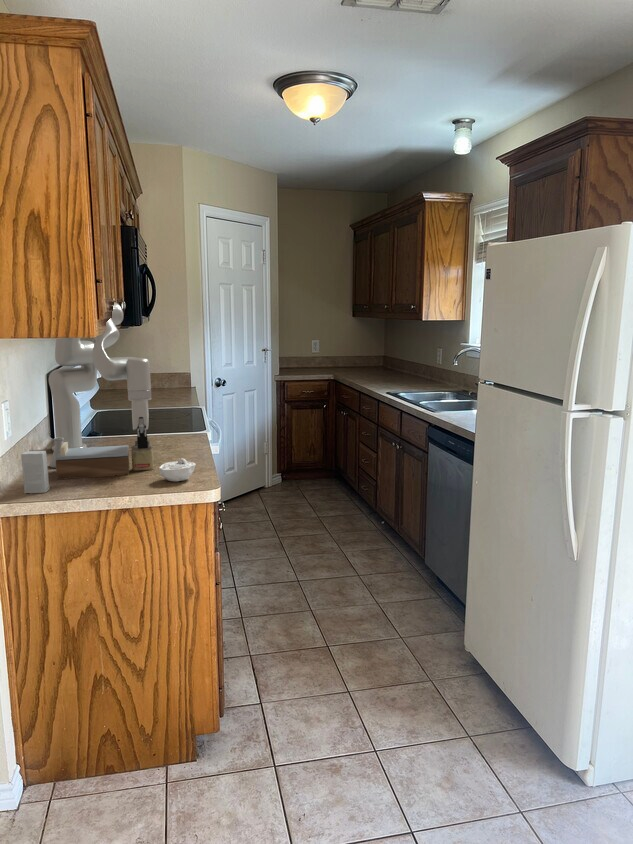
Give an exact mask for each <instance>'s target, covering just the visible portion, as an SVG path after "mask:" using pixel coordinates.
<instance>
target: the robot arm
mask: <svg viewBox="0 0 633 844" xmlns="http://www.w3.org/2000/svg"><path fill="white" fill-rule="evenodd" d="M113 302H114V306H113V311H112V318H110V319H109V320H108V321H107V322H106V329H105V333H104V334H102V335H100V336H98V337H95V338H94V337H93V339H94V340H95V342H93V341H91V340H81V337H80V338H61V339H56V338H55V344H54V345H55V347H54V348H55V349H54V358H55V362H56V364H57V365H59V366H63V368H58V369H57V368H56V369H54V370H53V371H51V372H49V375H48V385H49V388H50V392H51V397H52V405H53V418H54V433H55V438H57V437H63V438H64V440H63V443H64V442H68V448H86V447H88V446H87V444H86V443H83V438H82V437H83V436H82V435H83V434H82V421H81V420H82V419H81V408H80V407H81V406H80V401H79V399H77V398H76V396H75V395H74V394H73V393H81V392H89V391H92V390H93V389H94V388H95V387H96V385H97V376H98V373H99V374H100V376H101V377H102V378H103V379H104V380H106V381H119V380H120V381H122V380H126V383H127V384H126V385H127V387H126V388H127V399H128V401H130V402H131V419H132V420H131V421H132V430H133V431H136V430H137V431H136V434H137V435H136V436H137V437H136V441H137V445H138V449H145V448H148V442H147V440H148V431H147V430H148V429H149V418H150V417H149V416H150V415H149V401H151V400H152V386H151V385H152V383H151V367H150V366H151V364H150V360H149V359H148V358H144V357H135V356H122V357H120V356H119V357H109V356H108V355H107V353H106V351H105V350H106V349H108V348H110V347H111V346H113V345H114V344H115V343H116V342H117V341H119V338H120V331H119V329H118V327H117V326H118V325H121V323H122V322H123V321H124V311H123V309H122V307H121V306H120V304H118V302H115V301H113ZM77 366H78V367H77ZM79 366H80V367H79ZM65 367H66V368H65ZM54 448H55V445H53V446H52V447H51V449H52V450H51V451H52V452H54Z"/></svg>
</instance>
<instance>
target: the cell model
mask: <svg viewBox="0 0 633 844" xmlns="http://www.w3.org/2000/svg"><path fill="white" fill-rule="evenodd" d="M195 467H196V463H195V462H192V461H187V460H186V459H185V458H183V457H181V458H179V459H178V461H168V462H165V463H163V464H161V465H160V466H158V471H159V474H160V476H161V477H162V478H164V479H165V480H167V481H169V482H181V481H186V480H188V479H189V478H190V477H191V476H192V474H193V473H194V471H195Z"/></svg>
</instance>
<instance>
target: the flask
mask: <svg viewBox="0 0 633 844" xmlns="http://www.w3.org/2000/svg"><path fill="white" fill-rule="evenodd" d="M63 440H64V438H63V437H57V438H56V437H54V438H53V441H54V446H55V448H54V451H52V452H53V453H52V456H51V459H50V462H49V467H50V468H53V469H56V455H57V454H58V452H59V450H60V448H61V446H62V444H63Z"/></svg>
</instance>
